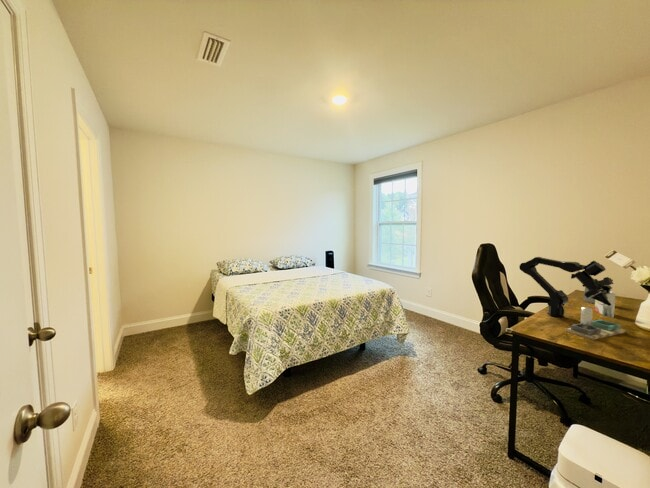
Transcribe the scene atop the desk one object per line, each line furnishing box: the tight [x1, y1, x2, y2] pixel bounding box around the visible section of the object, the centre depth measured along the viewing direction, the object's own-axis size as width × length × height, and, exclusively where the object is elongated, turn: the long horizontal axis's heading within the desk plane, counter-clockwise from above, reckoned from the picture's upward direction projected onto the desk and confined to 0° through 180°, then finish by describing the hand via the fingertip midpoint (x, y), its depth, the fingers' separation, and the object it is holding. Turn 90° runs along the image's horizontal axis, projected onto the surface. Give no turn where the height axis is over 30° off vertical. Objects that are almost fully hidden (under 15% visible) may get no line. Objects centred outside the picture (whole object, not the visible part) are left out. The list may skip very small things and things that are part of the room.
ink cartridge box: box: [594, 291, 615, 315], centre depth 177 cm, size 9×5×15 cm, turn 168°
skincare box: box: [582, 285, 605, 305], centre depth 200 cm, size 8×7×16 cm
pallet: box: [564, 319, 626, 341], centre depth 149 cm, size 27×12×4 cm, turn 108°
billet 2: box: [601, 292, 616, 318], centre depth 152 cm, size 4×4×12 cm
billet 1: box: [579, 306, 594, 330], centre depth 146 cm, size 4×4×12 cm
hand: (612, 304), depth 151 cm, fingers closed on billet 2, 4 cm apart
